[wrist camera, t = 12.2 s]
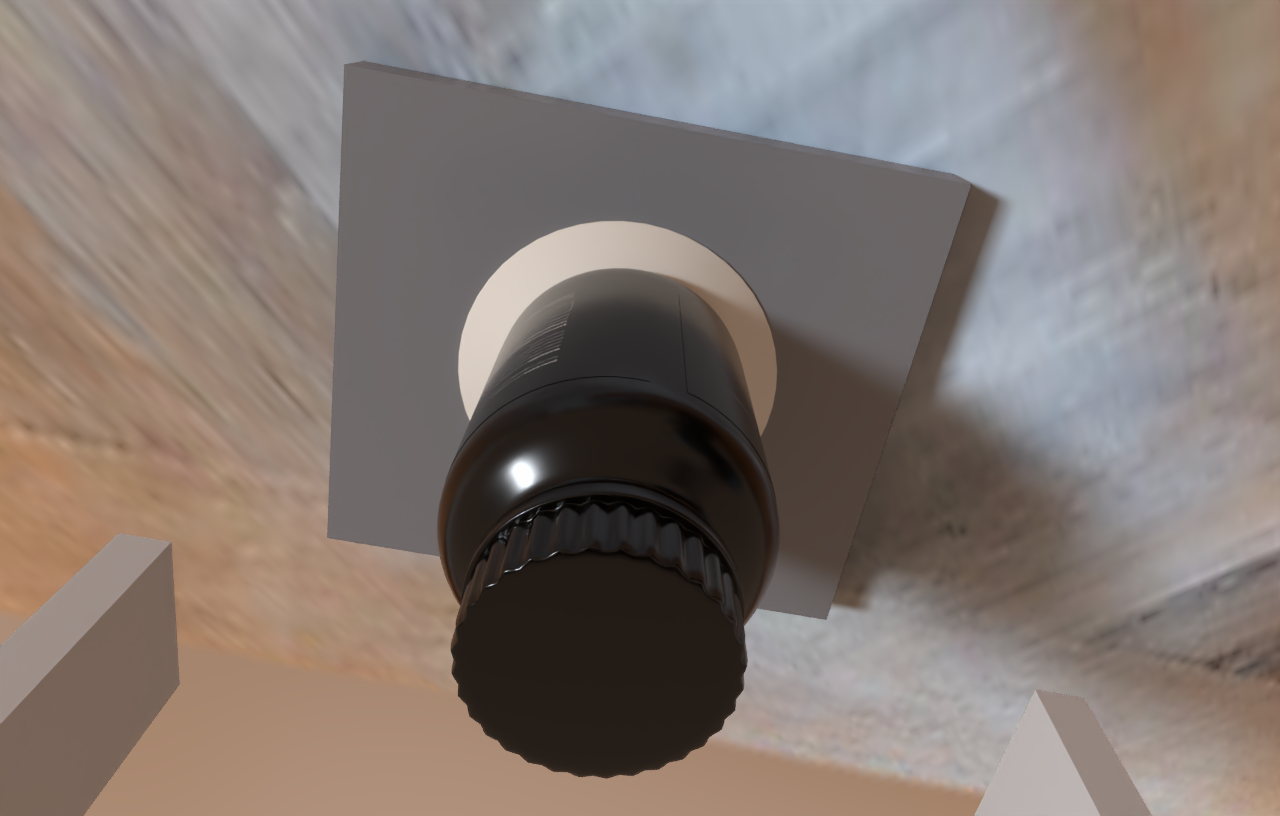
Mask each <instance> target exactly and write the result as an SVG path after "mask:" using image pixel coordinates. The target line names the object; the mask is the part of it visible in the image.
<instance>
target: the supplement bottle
mask: <svg viewBox="0 0 1280 816" xmlns="http://www.w3.org/2000/svg"><path fill="white" fill-rule="evenodd" d="M437 540H438V550H439V555H440V559H441V564H442V567H443V570H444V573H445V576H446V579H447V582H448V584H449V586H450V588H451V590H452V593H453V595H454V597H455V598H456V600H457V602H458V603H459V605H460V609H459V612H458V615H457V619H456V628H455V632H454V635H453V638H452V642H451V653H452V656H453V659H454V660H453V664H452V675H453V677H454V679H455V680H456V682H457V683H458V696H459V697H460V698H461V700H462V701H463V702H464V703H465V704H466V705H467V706H468V712H469V716H470V717H471V718H473V719H474V720H475V721H476V722H478V723H479V724H481V726H482V728H483V731H484V733H485V734H486V735H487V736H489V737H491V738H493V739H495V740H498V741H499V743H500V744H501V746H502V747H503V748H504V749H505V750H507V751H510V752H512V753H515V754H519V755H520V756H521V757H523V759H524V760H526V761H527V762H528V763H533V764H539V765H543V766H545V767H547V768H548V769H550V770H551V771H553V772H568V773H571V774H573V775H575V776H578V777H586V776H597V777H602V778H610V777H614V776H616V775H627V776H634V775H636V774H639V773H640V772H642V771H644V770H657V769H660V768H662V767H663V766H665V765H666V764H667V763H669V762H673V761H678V760H682V759H684V758H685V757H686V756H687V755H688V754H689V752H690V751H692V750H695V749H698V748H700V747H703V746H704V745H705V744H706V742H707V740H708V738H709V737H710V736H712V735H713V734H715V733H717V732H719V731H720V730H722V727H723V724H724V720H725V719H726V718H727V717H728V716H729V715H731V714H732V713H733V712H734V711H735V707H736V698H737V697H738V696H739V695H740V694H741V692H742V691H743V689H744V672H745V670H746V667H747V661H748V659H747V651H746V644H745V631H744V626H745V625H746V623H747V622H748V621H749V619H750V618H751V617H752V615H753V614H754V613H755V611H756V610H757V608H758V606H759V605H760V603H761V601H762V600H763V598H764V596H765V593H766V591H767V589H768V587H769V585H770V583H771V580H772V577H773V574H774V571H775V566H776V562H777V557H778V552H779V541H780V527H779V516H778V509H777V503H776V496H775V492H774V488H773V484H772V480H771V476H770V472H769V468H768V464H767V460H766V457H765V453H764V449H763V445H762V441H761V437H760V433H759V429H758V425H757V421H756V417H755V414H754V410H753V406H752V402H751V398H750V394H749V390H748V386H747V382H746V378H745V375H744V371H743V367H742V363H741V360H740V357H739V354H738V351H737V348H736V346H735V343H734V341H733V339H732V337H731V335H730V333H729V331H728V329H727V327H726V326H725V324H724V323H723V321H722V320H721V318H720V317H719V316H718V314H717V313H716V312H715V311H714V309H713V308H712V307H711V306H710V305H709V304H708V303H707V302H706V301H704V300H703V299H702V298H701V297H700V296H698V295H697V294H696V293H695V292H693V291H692V290H690V289H689V288H687V287H686V286H684V285H682V284H680V283H678V282H676V281H674V280H672V279H670V278H667V277H665V276H662V275H659V274H656V273H652V272H648V271H643V270H637V269H628V268H610V269H600V270H594V271H589V272H585V273H582V274H578V275H575V276H573V277H570V278H568V279H565V280H563V281H561V282H559V283H558V284H556V285H554V286H552V287H551V288H549V289H548V290H546V291H545V292H543V293H542V294H541V295H540V296H538V297H537V298H536V299H535V300H534V301H533V302H532V303H531V304H530V305H529V306H528V307H527V308H526V309H525V310H524V311H523V313H522V314H521V315H520V316H519V318H518V319H517V320H516V322H515V323H514V325H513V326H512V328H511V330H510V332H509V334H508V336H507V338H506V340H505V342H504V344H503V346H502V348H501V350H500V352H499V354H498V357H497V359H496V361H495V364H494V366H493V368H492V371H491V373H490V375H489V378H488V380H487V382H486V385H485V387H484V389H483V392H482V394H481V396H480V399H479V401H478V403H477V406H476V408H475V410H474V413H473V415H472V417H471V420H470V422H469V425H468V427H467V429H466V432H465V434H464V436H463V439H462V441H461V443H460V446H459V448H458V450H457V453H456V455H455V457H454V460H453V462H452V465H451V467H450V470H449V472H448V475H447V478H446V481H445V484H444V487H443V491H442V495H441V499H440V503H439V509H438V517H437Z"/></svg>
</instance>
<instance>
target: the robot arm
mask: <svg viewBox="0 0 1280 816" xmlns="http://www.w3.org/2000/svg"><path fill="white" fill-rule="evenodd" d="M179 684H180V683H179V666H178V648H177V631H176V614H175V596H174V579H173V562H172V544H171V542H168V541H162V540H157V539H151V538H145V537H139V536H133V535H127V534H122V533H118V534H117V535H116V536H115V537H114V538H113V539H112V540H111V541H110V542H109V543H108V544H107V545H106V546H105V547H104V548H103V549H102V550H100V551H99V552H98V553H97V554H96V555H95V556H94V557H93V558H92V559H91V560H90V561H89V562H88V563H87V564H86V565H85V566H84V567H83V568H82V569H80V570H79V571H78V572H77V573H76V574H75V575H74V576H73V577H72V578H71V579H70V580H69V581H68V582H67V583H66V584H65V585H64V586H63V587H61V588H60V589H59V590H58V591H57V592H56V593H55V594H54V595H53V596H52V597H51V598H50V599H49V600H48V601H47V602H46V603H45V604H44V605H42V606H41V607H40V608H39V609H38V610H37V611H36V612H35V613H34V614H33V615H32V616H31V617H30V618H29V619H28V620H27V621H26V622H25V623H24V624H22V625H21V626H20V627H19V628H18V629H17V630H16V631H15V632H14V633H13V634H12V635H11V636H10V637H9V638H8V639H7V640H6V641H5V642H3V643H2V644H1V645H0V816H84V814H85V813H86V811H87V810H88V809H89V807H90V806H91V805H92V803H93V802H94V801H95V799H96V798H97V796H98V795H99V794H100V792H101V791H102V790H103V788H104V787H105V786H106V784H107V783H108V781H109V780H110V779H111V777H112V776H113V775H114V773H115V772H116V770H117V769H118V767H119V766H120V765H121V763H122V762H123V761H124V760H125V758H126V757H127V755H128V754H129V753H130V751H131V750H132V749H133V747H134V746H135V745H136V743H137V742H138V740H139V739H140V738H141V736H142V735H143V733H144V732H145V731H146V730H147V728H148V727H149V725H150V724H151V723H152V721H153V720H154V719H155V717H156V716H157V714H158V713H159V712H160V710H161V709H162V707H163V706H164V705H165V704H166V702H167V701H168V699H169V698H170V697H171V695H172V694H173V693H174V691H175V690H176V689H177V687H178V686H179ZM975 816H1152V815H1151V813H1150V811H1149V810H1148V808H1147V806H1146V804H1145V803H1144V801H1143V799H1142V798H1141V796H1140V794H1139V792H1138V791H1137V789H1136V787H1135V785H1134V784H1133V782H1132V780H1131V779H1130V777H1129V775H1128V773H1127V772H1126V770H1125V768H1124V767H1123V765H1122V763H1121V761H1120V760H1119V758H1118V756H1117V754H1116V753H1115V751H1114V749H1113V748H1112V746H1111V744H1110V742H1109V741H1108V739H1107V737H1106V735H1105V734H1104V732H1103V730H1102V729H1101V727H1100V725H1099V723H1098V722H1097V720H1096V718H1095V717H1094V715H1093V713H1092V711H1091V710H1090V708H1089V706H1088V704H1087V703H1086V701H1085V699H1084V698H1081V697H1075V696H1069V695H1063V694H1057V693H1051V692H1045V691H1040V690H1035V692H1034V694H1033V696H1032V698H1031V700H1030V702H1029V704H1028V706H1027V708H1026V710H1025V712H1024V714H1023V716H1022V718H1021V720H1020V722H1019V725H1018V727H1017V729H1016V731H1015V733H1014V735H1013V737H1012V739H1011V741H1010V743H1009V745H1008V747H1007V749H1006V751H1005V753H1004V755H1003V758H1002V760H1001V762H1000V764H999V766H998V768H997V770H996V772H995V774H994V776H993V778H992V780H991V782H990V784H989V786H988V788H987V791H986V793H985V795H984V797H983V799H982V801H981V803H980V805H979V807H978V809H977V811H976V813H975Z"/></svg>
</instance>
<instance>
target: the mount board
mask: <svg viewBox="0 0 1280 816" xmlns="http://www.w3.org/2000/svg"><path fill="white" fill-rule="evenodd" d="M970 187H971V184H970V183H968V182H966V181H965V180H963V179H961V178H959V177H958V176H956V175H954V174H950V173H945V172H940V171H934V170H929V169H924V168H919V167H913V166H908V165H903V164H898V163H893V162H887V161H882V160H877V159H872V158H866V157H861V156H856V155H851V154H846V153H840V152H835V151H830V150H825V149H819V148H814V147H809V146H804V145H799V144H793V143H788V142H783V141H778V140H772V139H767V138H762V137H757V136H752V135H746V134H741V133H736V132H731V131H726V130H720V129H715V128H710V127H705V126H699V125H694V124H689V123H684V122H679V121H673V120H668V119H663V118H658V117H652V116H647V115H642V114H637V113H632V112H626V111H621V110H616V109H611V108H605V107H600V106H595V105H590V104H585V103H579V102H574V101H569V100H564V99H558V98H553V97H548V96H543V95H538V94H532V93H527V92H522V91H517V90H511V89H506V88H501V87H496V86H491V85H485V84H480V83H475V82H470V81H465V80H459V79H454V78H449V77H444V76H438V75H433V74H428V73H423V72H418V71H412V70H407V69H402V68H397V67H391V66H386V65H381V64H376V63H371V62H365V61H361V62H356V63H350V64H344V90H343V117H342V145H341V173H340V200H339V228H338V256H337V283H336V311H335V339H334V367H333V394H332V422H331V450H330V477H329V505H328V533H327V538H331V539H337V540H343V541H349V542H355V543H361V544H368V545H374V546H380V547H386V548H392V549H398V550H404V551H410V552H416V553H423V554H429V555H435V556H440V555H439V550H438V540H437V517H438V509H439V503H440V499H441V495H442V491H443V487H444V484H445V481H446V478H447V475H448V472H449V470H450V467H451V465H452V462H453V460H454V457H455V455H456V453H457V450H458V448H459V446H460V443H461V441H462V439H463V436H464V434H465V432H466V429H467V427H468V425H469V422H470V420H471V417H472V415H473V413H474V410H475V408H476V406H477V403H478V401H479V399H480V396H481V394H482V392H483V389H484V387H485V385H486V382H487V380H488V378H489V375H490V373H491V371H492V368H493V366H494V364H495V361H496V359H497V357H498V354H499V352H500V350H501V348H502V346H503V344H504V342H505V340H506V338H507V336H508V334H509V332H510V330H511V328H512V326H513V325H514V323H515V322H516V320H517V319H518V318H519V316H520V315H521V314H522V313H523V311H524V310H525V309H526V308H527V307H528V306H529V305H530V304H531V303H532V302H533V301H534V300H535V299H536V298H537V297H538V296H540V295H541V294H542V293H543V292H545V291H546V290H548V289H549V288H551V287H552V286H554V285H556V284H558V283H559V282H561V281H563V280H565V279H568V278H570V277H573V276H575V275H578V274H582V273H585V272H589V271H594V270H600V269H610V268H628V269H637V270H643V271H648V272H652V273H656V274H659V275H662V276H665V277H667V278H670V279H672V280H674V281H676V282H678V283H680V284H682V285H684V286H686V287H687V288H689V289H690V290H692V291H693V292H695V293H696V294H697V295H698V296H700V297H701V298H702V299H703V300H704V301H706V302H707V303H708V304H709V305H710V306H711V307H712V308H713V309H714V311H715V312H716V313H717V314H718V316H719V317H720V318H721V320H722V321H723V323H724V324H725V326H726V327H727V329H728V331H729V333H730V335H731V337H732V339H733V341H734V343H735V346H736V348H737V351H738V354H739V357H740V360H741V363H742V367H743V371H744V375H745V378H746V382H747V386H748V390H749V394H750V398H751V402H752V406H753V410H754V414H755V417H756V421H757V425H758V429H759V433H760V437H761V441H762V445H763V449H764V453H765V457H766V460H767V464H768V468H769V472H770V476H771V480H772V484H773V488H774V492H775V496H776V503H777V509H778V516H779V527H780V541H779V552H778V557H777V562H776V566H775V571H774V574H773V577H772V580H771V583H770V585H769V587H768V589H767V591H766V593H765V596H764V598H763V600H762V601H761V603H760V605H759V606H758V609H764V610H770V611H777V612H783V613H789V614H795V615H801V616H807V617H813V618H819V619H825V620H826V619H827V616H828V613H829V610H830V607H831V604H832V601H833V598H834V595H835V592H836V589H837V586H838V583H839V580H840V577H841V574H842V571H843V568H844V565H845V562H846V559H847V556H848V553H849V550H850V547H851V544H852V541H853V538H854V535H855V532H856V529H857V526H858V523H859V520H860V517H861V514H862V511H863V508H864V505H865V502H866V499H867V496H868V493H869V490H870V487H871V484H872V481H873V478H874V475H875V472H876V469H877V466H878V463H879V460H880V457H881V454H882V451H883V448H884V445H885V442H886V439H887V436H888V433H889V430H890V427H891V424H892V421H893V418H894V415H895V412H896V409H897V406H898V403H899V400H900V397H901V394H902V391H903V388H904V385H905V382H906V379H907V376H908V373H909V370H910V367H911V364H912V361H913V358H914V355H915V352H916V349H917V346H918V343H919V340H920V337H921V334H922V331H923V328H924V325H925V322H926V319H927V316H928V313H929V310H930V307H931V304H932V301H933V298H934V295H935V292H936V289H937V286H938V283H939V280H940V277H941V274H942V271H943V268H944V265H945V262H946V259H947V256H948V253H949V250H950V247H951V244H952V241H953V238H954V235H955V232H956V229H957V226H958V223H959V220H960V217H961V214H962V211H963V208H964V205H965V202H966V199H967V196H968V193H969V190H970Z"/></svg>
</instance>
